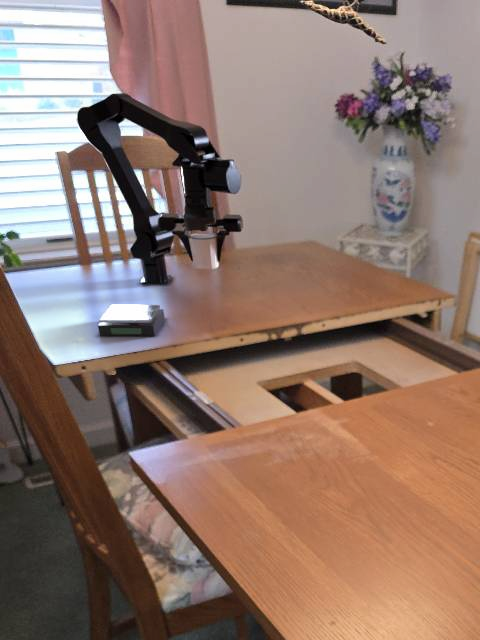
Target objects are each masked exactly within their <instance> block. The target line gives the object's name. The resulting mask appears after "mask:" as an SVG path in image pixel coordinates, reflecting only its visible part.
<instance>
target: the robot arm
mask: <svg viewBox="0 0 480 640" xmlns="http://www.w3.org/2000/svg"><path fill="white" fill-rule="evenodd" d="M76 116H77V117H76V124H77V127H78V129H79V130H80V132H81V133H82V134H83V136H84V137H85V139H86V141H87V142H88V143H89V145H91V146H92V147H93V148H95V149H96V150H97V151H98V152H99V153H100V154H101V155H102V158H103V159H104V162H105V163H106V165H107V168H108V169H109V172H111V175H112V177H113V179H114V181H115V183H116V185H117V187H118V189H119V191H120V194H122V197H123V199H124V201H125V203H126V205H127V206H128V209H129V210H130V212H131V215H132V219H133V231H134V234H135V237H136V239H135V241H134V242H133V244H132V245H131V246H130V248H129V250H130V253H131V256H132V258H133V259H139V260H140V263H141V269H142V274H143V278H142V279H141V280H140V284H141V285H168V284H169V282H170V281H171V279H172V275H170V274H168V270H167V263H166V258H165V255H166V254H171V250H172V246H173V243H174V239H175V236H177V237H178V238H179V240H180V241H181V243H182V244H183V247H184V248H185V251H186V253H187V254H188V257H189V259H190V261H191V262H193V257H192V253H191V249H190V244H189V240H188V236H189V235H191V234H190V232H193V231H200V232H206V231H208V229H209V228H217V231H216V233H215V234H216V235H217V258H218V263H219V262H221V258H222V253H223V249H224V244H225V240H226V237H227V236H230V235H231V233H241V232H242V231H243V228H244V221H243V217H242V215H241V214H224V215H223V218H219V217H218V218H217V215H216V214H217V213H216V210H215V207H214V206H213V205H212V196H211V192H213V193H221V194H230V195H231V194H232V195H237V194H238V193H239V191H240V190H241V186H242V175H241V174H240V171H239V168H237V166H235V160H234V159H231V158H227V159H222V158H221V156H220V154H219V153H218V151H217V150H216V148H215V147H214V145H213V144H212V142H211V140H210V138H209V136H208V134H207V131H206V129H205V128H203V127H202V126H201V125H198V124H195V123H192V122H188V121H182V120H177V119H174V118H172V117H169V116H168V115H165V114H164V113H162V112H160V111H158V110H156V109H154V108H152V107H151V106H148V105H147V104H144V103H143V102H142V101H139V100H137V99H136V98H134V97H132V96H131V95H130V94H128V93H127V92H118V93H117V92H116V93H111V94H109V95H108V96H107V97H105V98H104V99H102V100H100V101H98V102H96V103H93V104H92V105H90V106H82V107H80V108H79V110H78V111H77V115H76ZM125 120H127V121H129V122H130V123H133V124H135V125H137V126H139V127H140V128H142V129H144V130H146V131H148V132H150V133H152V134H153V135H156V136H158V137H160V138H161V139H162V140H163V141H165V143H166V144H167V146H168V147H169V148H170V149H171V150H173V151H174V153H176V154H178V155H177V157H176V158H175V160H173V161H172V162H171V164H172V167H179V168H181V176H182V177H181V178H182V184H183V189H184V190H183V191H184V193H183V194H184V209H183V210H184V211H183V217H180V215H179V213H176V212H175V213H173V212H169V213H168V212H160V213H159V212H158V211H156V210H155V209H154V207H153V206H152V204H151V202H150V200H149V198H148V196H147V193H146V192H145V190H144V188H143V185H142V184H141V182H140V180H139V178H138V176H137V174H136V172H135V170H134V168H133V166H132V164H131V162H130V160H129V158H128V156H127V155H126V152H125V150H124V148H123V145H122V130H121V127H120V124H121V123H122V122H124V121H125Z"/></svg>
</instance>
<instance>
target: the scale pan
mask: <svg viewBox="0 0 480 640" xmlns="http://www.w3.org/2000/svg"><path fill="white" fill-rule="evenodd" d="M159 309H161V306H160V304H111V305H110V306H109V308H108V309H107V310H106V312H105V313H104V314H103V315H102V317H100V319H99V323H100V322H101V323H151V321H152V320H153V318H154V317H155V315H156V313H157V312H158V310H159Z"/></svg>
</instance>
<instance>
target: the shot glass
mask: <svg viewBox="0 0 480 640" xmlns="http://www.w3.org/2000/svg"><path fill="white" fill-rule="evenodd" d="M188 240H189V244H190V249H191V253H192V257H193V261H192V263H193V266H194V268H195V269H197V270H214V269H218V268H219V262H218V258H217V234H216V233H211V232H196V233H191V234H190V235H189V236H188Z"/></svg>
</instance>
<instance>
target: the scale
mask: <svg viewBox="0 0 480 640" xmlns="http://www.w3.org/2000/svg"><path fill="white" fill-rule="evenodd" d="M165 320H166V318H165V312H164V309H163V308H160V309H159V310H158V312H157V313H156V315H155V317H154V318H153V320H152V321H151V323H101V322H100V321H99V323H98V325H97V328H98V333H99V336H100V337H156V335H157V333H158V331H159V330H160V328H161V326H162V325H163V323H164V322H165Z"/></svg>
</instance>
